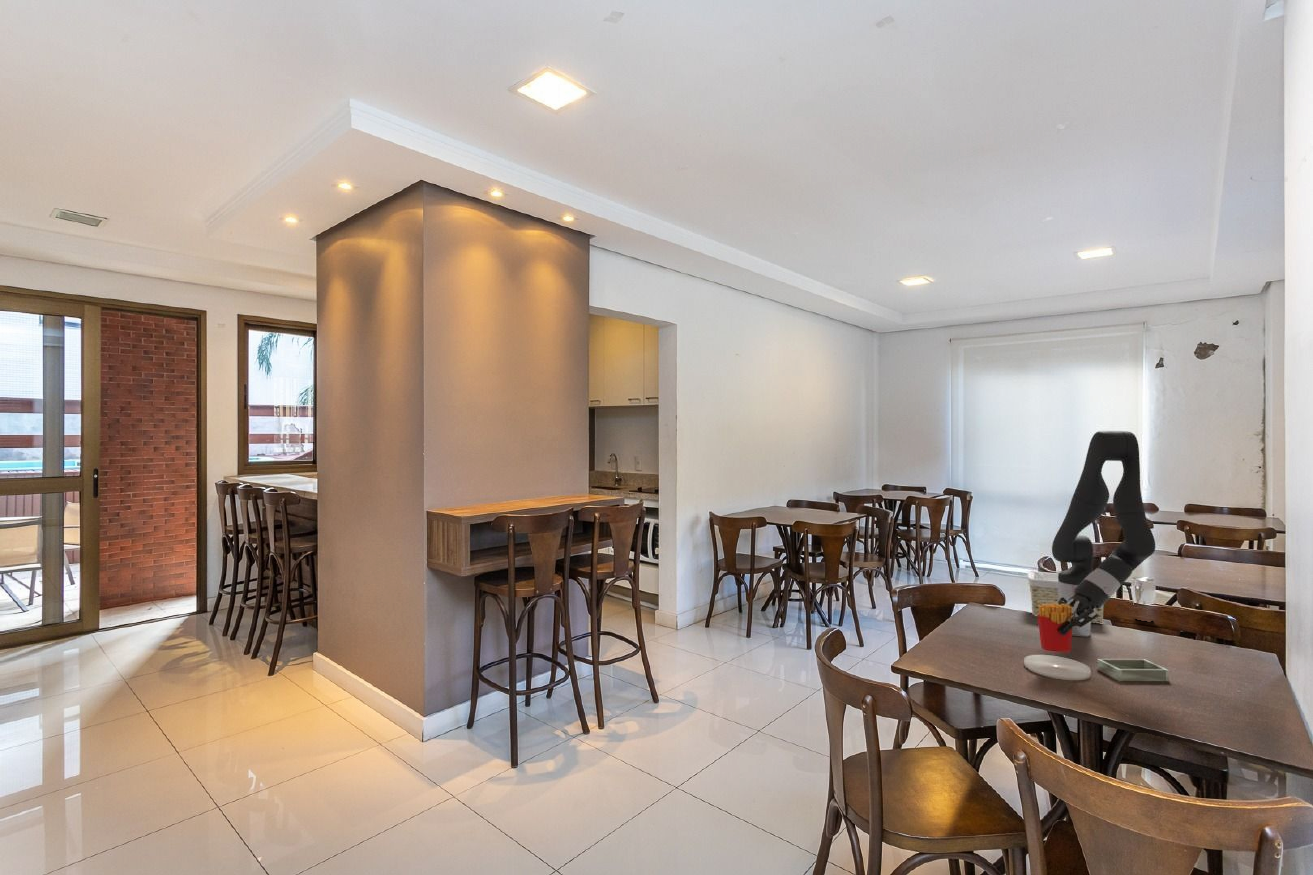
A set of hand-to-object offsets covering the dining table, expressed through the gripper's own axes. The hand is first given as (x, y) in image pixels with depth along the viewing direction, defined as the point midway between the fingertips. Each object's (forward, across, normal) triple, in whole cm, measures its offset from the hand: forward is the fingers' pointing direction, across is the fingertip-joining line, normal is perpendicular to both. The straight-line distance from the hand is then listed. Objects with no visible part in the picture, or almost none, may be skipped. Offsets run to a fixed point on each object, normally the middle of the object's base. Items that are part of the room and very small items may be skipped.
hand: (1055, 630), depth 177 cm
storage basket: (-18, -54, +35) cm, 67 cm away
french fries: (+4, 0, +4) cm, 6 cm away
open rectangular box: (-5, +4, +21) cm, 22 cm away
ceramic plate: (+8, 0, +8) cm, 11 cm away
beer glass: (-36, -49, +52) cm, 81 cm away
